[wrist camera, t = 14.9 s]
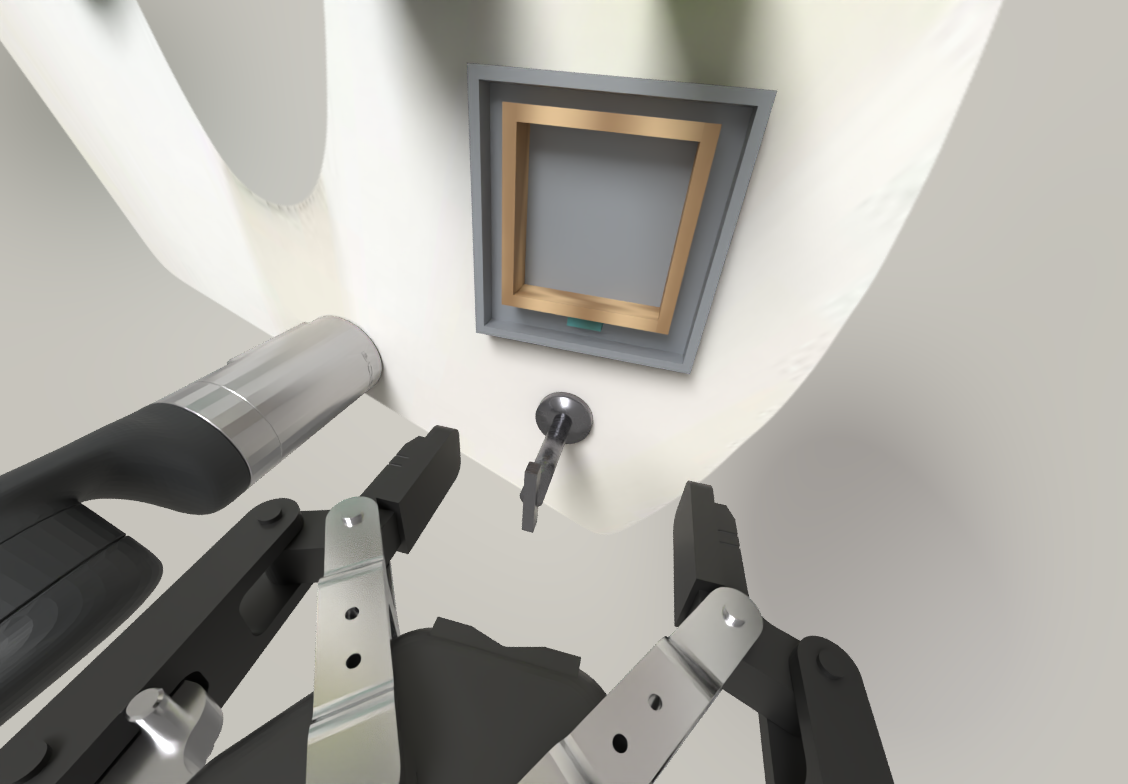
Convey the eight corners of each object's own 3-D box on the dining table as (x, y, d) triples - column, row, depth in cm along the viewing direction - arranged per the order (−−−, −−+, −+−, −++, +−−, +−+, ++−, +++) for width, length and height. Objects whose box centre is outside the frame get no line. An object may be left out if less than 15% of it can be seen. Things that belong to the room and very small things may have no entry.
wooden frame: (513, 308, 38) (501, 320, 35) (517, 104, 29) (502, 101, 26) (664, 336, 35) (663, 351, 33) (718, 125, 27) (721, 124, 24)
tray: (486, 322, 40) (476, 332, 38) (482, 67, 29) (466, 62, 27) (689, 360, 37) (689, 374, 35) (769, 93, 26) (777, 90, 24)
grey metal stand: (536, 434, 46) (494, 522, 36) (540, 382, 42) (494, 464, 32) (588, 446, 45) (560, 540, 35) (596, 394, 41) (568, 482, 31)
